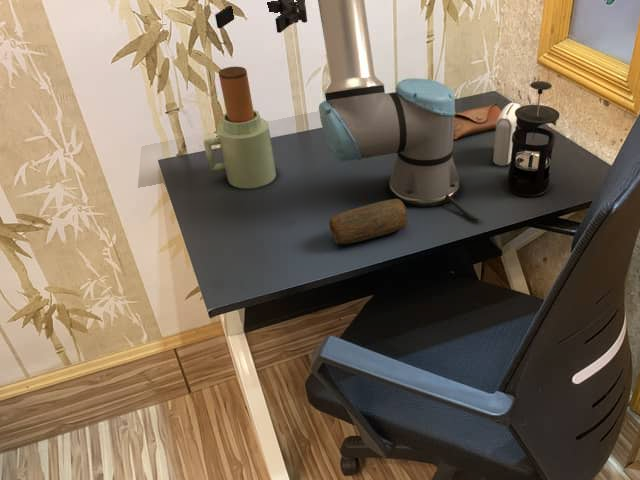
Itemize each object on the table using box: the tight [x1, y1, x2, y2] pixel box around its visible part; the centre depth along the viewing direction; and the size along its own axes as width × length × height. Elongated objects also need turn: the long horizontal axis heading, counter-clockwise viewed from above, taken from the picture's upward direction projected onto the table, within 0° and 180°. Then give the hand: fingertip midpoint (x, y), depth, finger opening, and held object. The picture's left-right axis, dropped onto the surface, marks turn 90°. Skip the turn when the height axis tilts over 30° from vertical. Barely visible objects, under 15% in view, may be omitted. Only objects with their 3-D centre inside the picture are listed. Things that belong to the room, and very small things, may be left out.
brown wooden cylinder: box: [328, 198, 408, 245], centre depth 121 cm, size 15×7×7 cm, turn 117°
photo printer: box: [492, 102, 522, 167], centre depth 144 cm, size 10×4×12 cm, turn 157°
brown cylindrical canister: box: [218, 66, 255, 123], centre depth 130 cm, size 6×6×12 cm
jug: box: [203, 108, 277, 189], centre depth 137 cm, size 11×14×14 cm
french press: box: [505, 80, 561, 198], centre depth 130 cm, size 12×9×23 cm
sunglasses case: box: [453, 103, 502, 140], centre depth 159 cm, size 18×7×7 cm, turn 118°
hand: (247, 23), depth 129 cm, fingers open, 13 cm apart
